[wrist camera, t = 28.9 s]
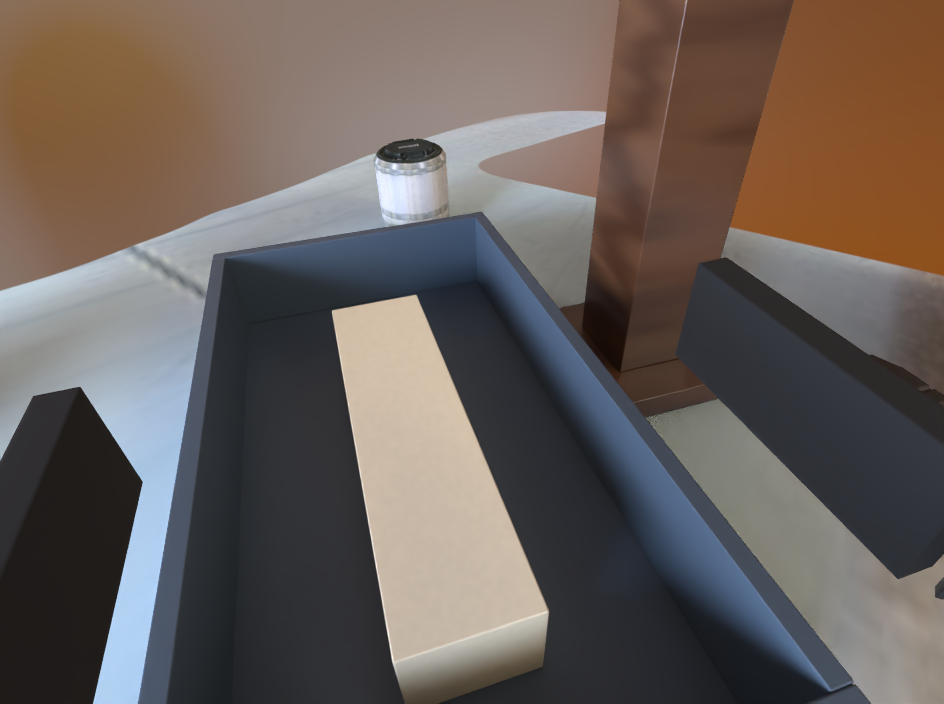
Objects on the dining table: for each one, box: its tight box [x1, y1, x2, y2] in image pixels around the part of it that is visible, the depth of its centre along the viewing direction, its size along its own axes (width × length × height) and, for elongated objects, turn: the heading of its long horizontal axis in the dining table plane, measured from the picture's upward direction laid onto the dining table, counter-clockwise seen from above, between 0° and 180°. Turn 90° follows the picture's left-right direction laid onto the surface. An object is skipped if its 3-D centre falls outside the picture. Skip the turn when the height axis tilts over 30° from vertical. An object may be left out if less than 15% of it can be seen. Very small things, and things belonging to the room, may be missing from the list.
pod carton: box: [332, 295, 549, 704], centre depth 24 cm, size 19×5×4 cm, turn 17°
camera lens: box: [374, 139, 449, 227], centre depth 48 cm, size 6×6×8 cm
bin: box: [138, 212, 871, 704], centre depth 25 cm, size 32×18×7 cm, turn 17°
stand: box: [559, 0, 794, 417], centre depth 25 cm, size 14×10×31 cm
